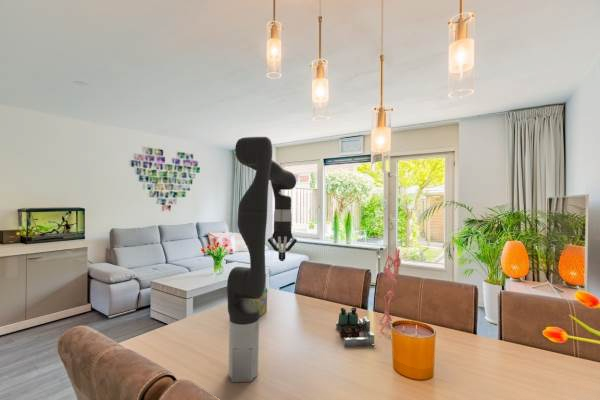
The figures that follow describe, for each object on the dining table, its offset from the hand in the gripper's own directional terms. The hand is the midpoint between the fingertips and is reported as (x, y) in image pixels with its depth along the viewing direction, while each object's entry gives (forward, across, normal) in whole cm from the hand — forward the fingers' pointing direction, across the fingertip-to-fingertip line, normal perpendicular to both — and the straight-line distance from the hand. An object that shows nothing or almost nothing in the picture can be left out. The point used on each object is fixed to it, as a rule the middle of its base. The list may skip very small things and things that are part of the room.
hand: (281, 260), depth 127 cm
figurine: (+29, +50, -2) cm, 58 cm away
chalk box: (+29, -12, +18) cm, 37 cm away
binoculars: (+29, +28, -7) cm, 41 cm away
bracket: (+29, +29, -8) cm, 42 cm away
